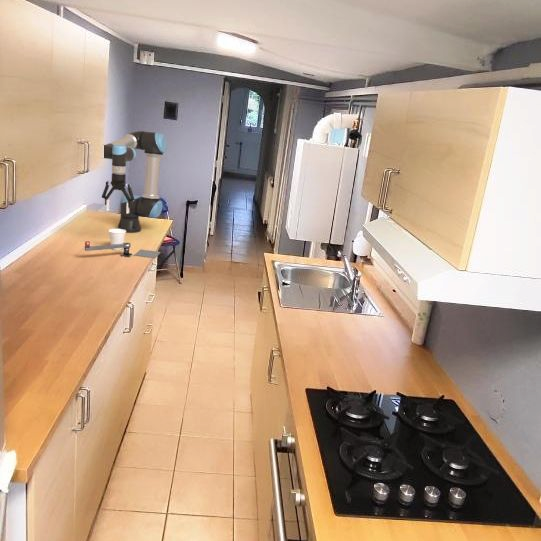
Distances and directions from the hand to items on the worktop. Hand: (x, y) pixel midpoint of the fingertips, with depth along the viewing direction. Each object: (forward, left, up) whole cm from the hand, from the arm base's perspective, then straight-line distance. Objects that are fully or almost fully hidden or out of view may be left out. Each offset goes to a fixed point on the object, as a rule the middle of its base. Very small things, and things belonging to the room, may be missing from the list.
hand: (117, 211), depth 312 cm
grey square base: (+11, +9, -22) cm, 26 cm away
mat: (+3, +19, -22) cm, 29 cm away
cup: (0, 0, -22) cm, 22 cm away
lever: (+18, +1, -17) cm, 25 cm away
